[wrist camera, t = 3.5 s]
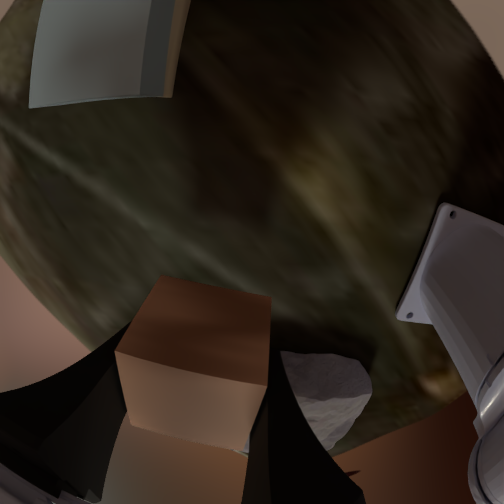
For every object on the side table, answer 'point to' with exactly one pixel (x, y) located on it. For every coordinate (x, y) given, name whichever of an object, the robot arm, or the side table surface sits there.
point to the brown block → (175, 44)
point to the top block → (100, 50)
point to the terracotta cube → (196, 362)
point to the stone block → (327, 392)
